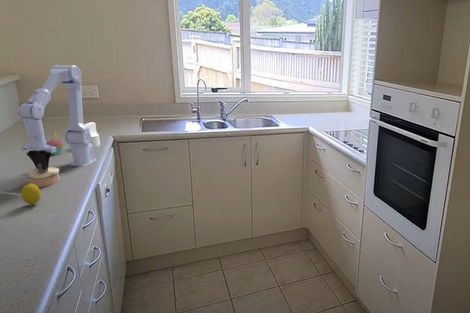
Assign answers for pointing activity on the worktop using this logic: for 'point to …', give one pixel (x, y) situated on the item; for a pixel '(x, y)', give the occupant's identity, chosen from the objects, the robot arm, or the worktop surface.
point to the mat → (34, 169)
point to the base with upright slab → (93, 134)
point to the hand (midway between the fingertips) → (42, 168)
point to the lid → (42, 172)
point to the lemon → (30, 193)
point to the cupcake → (56, 145)
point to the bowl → (45, 181)
